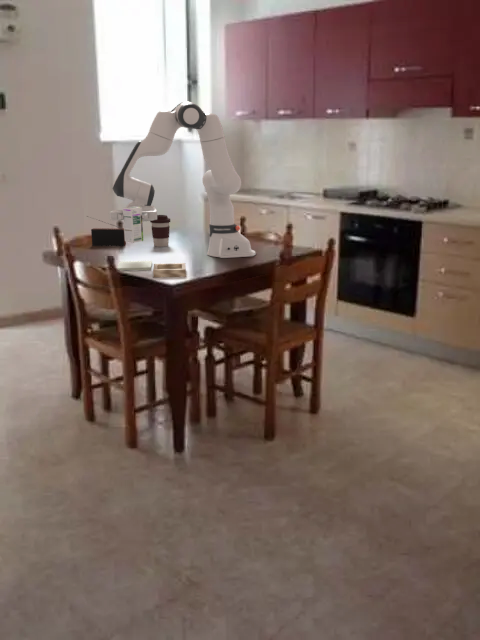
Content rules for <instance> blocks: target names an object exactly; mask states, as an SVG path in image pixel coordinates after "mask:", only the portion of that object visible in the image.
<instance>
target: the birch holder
mask: <svg viewBox="0 0 480 640" xmlns="http://www.w3.org/2000/svg"><path fill="white" fill-rule="evenodd" d="M186 267H187V266H186V263H185V262H180V263H179V262H177V263H175V262H174V263H153V268H152V270H153V275H152V276H153V278H185V277H187V274H186V273H187V270H186V269H187V268H186Z"/></svg>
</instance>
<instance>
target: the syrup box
mask: <svg viewBox="0 0 480 640" xmlns="http://www.w3.org/2000/svg"><path fill="white" fill-rule="evenodd" d="M122 210H123V219H124V220H123V229H124V235H125V241H126V243H132V244H133V243H134V244H135V243H139V242H144V227H143V226H144V225H143V223H144V222H142V208H141V207H136V206H135V207H126V206H125V207H122Z"/></svg>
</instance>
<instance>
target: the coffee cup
mask: <svg viewBox="0 0 480 640" xmlns="http://www.w3.org/2000/svg"><path fill="white" fill-rule="evenodd" d="M149 222H150V223H151V235H152V236H151V237H152V238H153V239H152V240H153V246H154V247H158V248H164V247H168V246H169V243H170V242H169V241H170V239H169V238H170V223H171V218H170V217H168V215H167V214H157V220H153V221H149Z"/></svg>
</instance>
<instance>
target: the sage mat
mask: <svg viewBox="0 0 480 640" xmlns="http://www.w3.org/2000/svg"><path fill="white" fill-rule="evenodd" d="M152 266H153V261H152V260H141V261H140V260H138V261H134V260H133V261H131V260H130V261H119V262H118V265H117V268H116V270H117V269H118V270H121V271H120V272H124V271H123V270H138V271H152Z"/></svg>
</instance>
